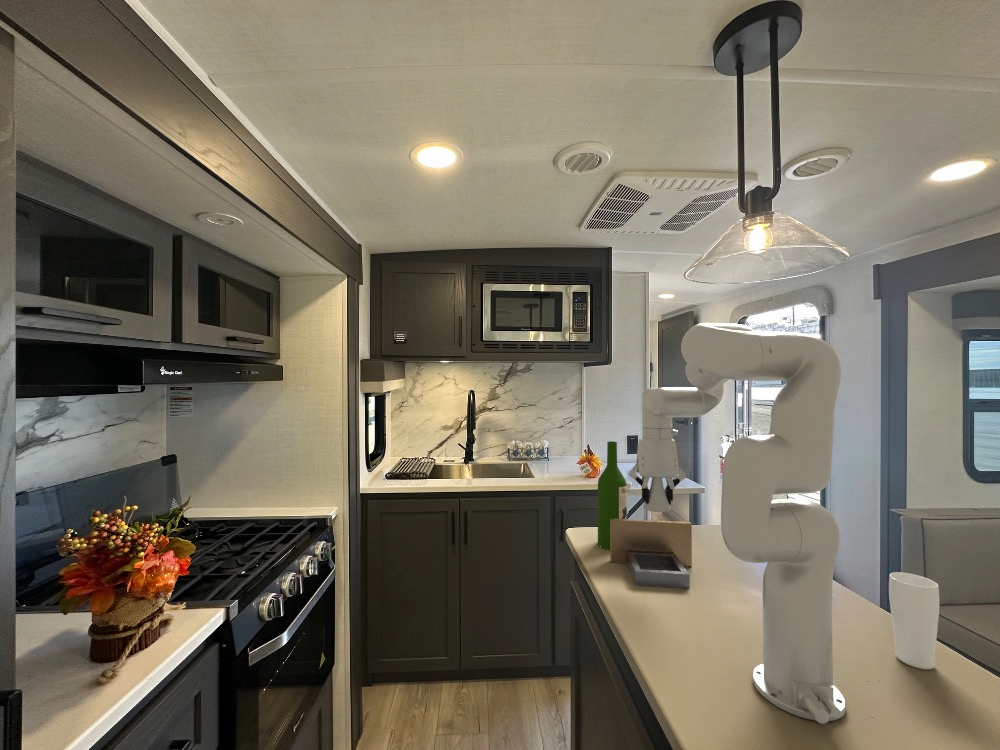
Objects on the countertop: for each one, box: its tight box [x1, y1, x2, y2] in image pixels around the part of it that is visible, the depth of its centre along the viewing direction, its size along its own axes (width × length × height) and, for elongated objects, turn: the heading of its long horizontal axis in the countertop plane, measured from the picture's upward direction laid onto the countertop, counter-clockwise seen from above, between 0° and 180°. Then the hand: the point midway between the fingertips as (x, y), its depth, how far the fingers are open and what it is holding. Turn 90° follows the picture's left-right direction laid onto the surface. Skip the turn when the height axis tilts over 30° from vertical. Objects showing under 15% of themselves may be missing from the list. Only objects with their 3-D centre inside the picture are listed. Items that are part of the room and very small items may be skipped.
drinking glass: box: [888, 571, 940, 670], centre depth 81 cm, size 7×7×15 cm
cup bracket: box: [609, 518, 693, 589], centre depth 118 cm, size 15×22×12 cm
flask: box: [643, 477, 672, 513], centre depth 117 cm, size 7×7×10 cm
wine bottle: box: [597, 441, 628, 550], centre depth 139 cm, size 9×9×32 cm
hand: (657, 502), depth 117 cm, fingers closed on flask, 4 cm apart
